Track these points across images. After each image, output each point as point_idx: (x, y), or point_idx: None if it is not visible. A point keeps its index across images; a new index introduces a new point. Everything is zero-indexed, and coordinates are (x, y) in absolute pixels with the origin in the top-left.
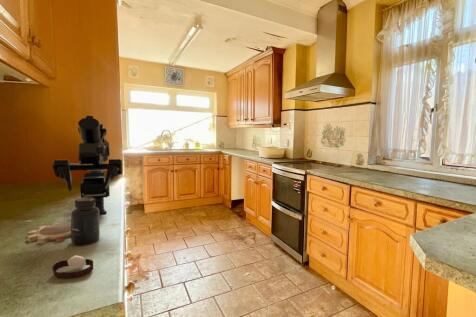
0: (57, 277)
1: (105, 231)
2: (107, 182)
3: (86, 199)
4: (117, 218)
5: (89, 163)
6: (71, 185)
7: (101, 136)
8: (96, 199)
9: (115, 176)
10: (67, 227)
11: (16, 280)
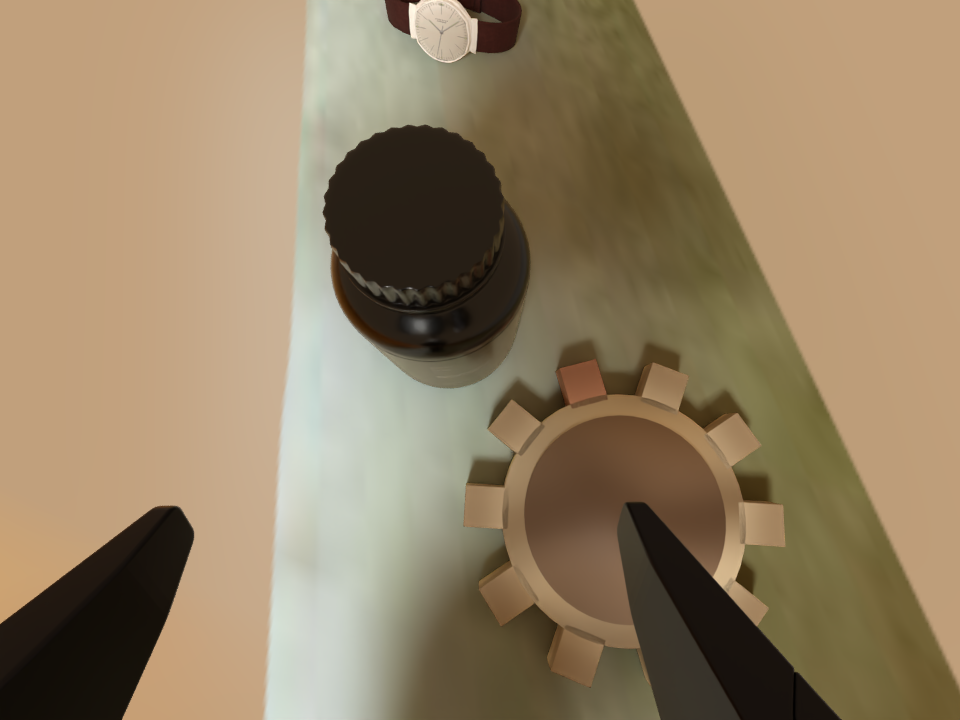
0: (499, 17)
1: (357, 436)
2: (70, 573)
3: (399, 188)
4: (278, 702)
5: None
6: (651, 655)
7: None
8: None
9: None
10: (575, 515)
11: (625, 49)
